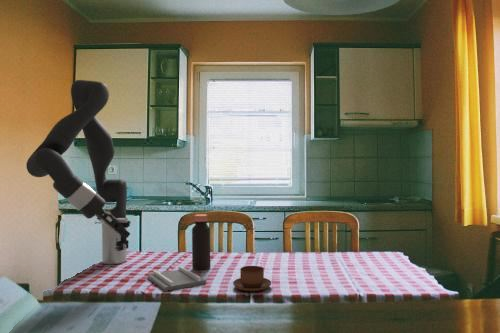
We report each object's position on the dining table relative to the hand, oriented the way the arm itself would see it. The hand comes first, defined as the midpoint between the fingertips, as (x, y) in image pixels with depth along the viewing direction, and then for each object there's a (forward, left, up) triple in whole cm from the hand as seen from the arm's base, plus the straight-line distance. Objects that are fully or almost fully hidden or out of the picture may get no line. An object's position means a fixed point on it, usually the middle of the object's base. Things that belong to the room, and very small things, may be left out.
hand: (125, 234), depth 128 cm
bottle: (-5, +29, -16) cm, 34 cm away
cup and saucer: (+26, +33, -17) cm, 45 cm away
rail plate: (+5, +15, -16) cm, 23 cm away
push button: (0, -2, -5) cm, 5 cm away
